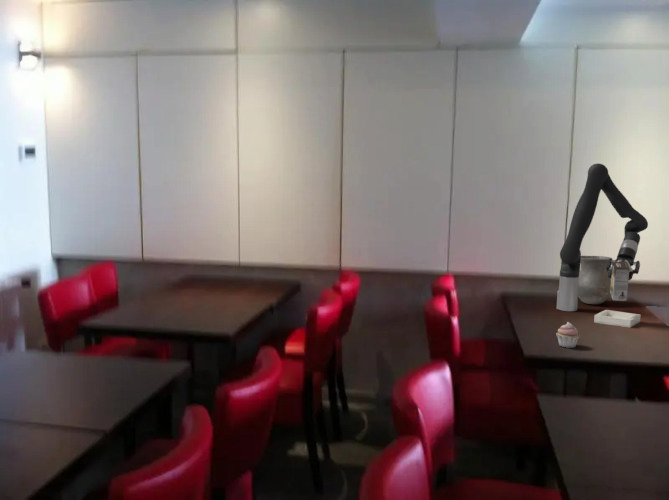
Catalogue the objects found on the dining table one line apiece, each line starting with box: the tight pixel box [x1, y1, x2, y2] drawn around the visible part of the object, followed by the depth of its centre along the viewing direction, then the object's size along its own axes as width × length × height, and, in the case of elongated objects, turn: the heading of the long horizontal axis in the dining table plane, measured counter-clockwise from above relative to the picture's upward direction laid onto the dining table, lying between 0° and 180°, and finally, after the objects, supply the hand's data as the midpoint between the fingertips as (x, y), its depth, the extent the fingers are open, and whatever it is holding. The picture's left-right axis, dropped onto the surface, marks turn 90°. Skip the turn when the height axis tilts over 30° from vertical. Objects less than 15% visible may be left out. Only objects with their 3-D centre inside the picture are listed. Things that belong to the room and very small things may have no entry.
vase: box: [578, 255, 613, 305], centre depth 353 cm, size 20×19×25 cm
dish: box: [593, 309, 641, 329], centre depth 311 cm, size 16×16×4 cm
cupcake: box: [555, 321, 581, 349], centre depth 268 cm, size 9×9×10 cm
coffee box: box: [610, 262, 630, 302], centre depth 307 cm, size 9×6×16 cm
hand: (619, 278), depth 308 cm, fingers closed on coffee box, 8 cm apart
